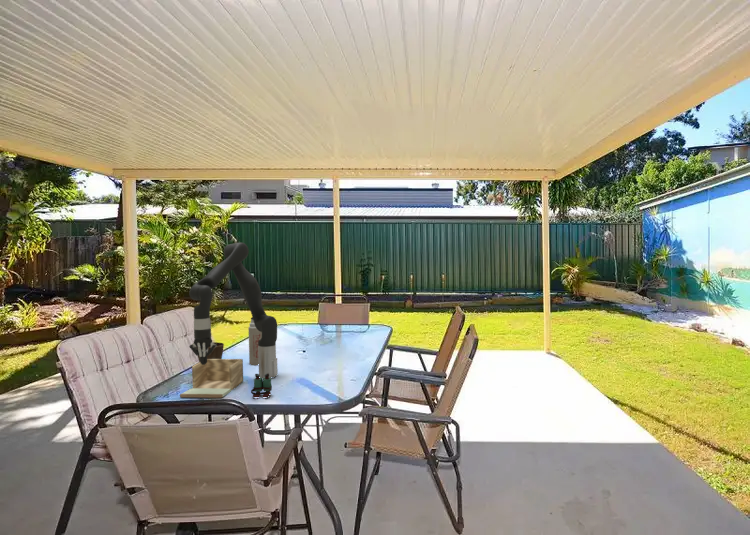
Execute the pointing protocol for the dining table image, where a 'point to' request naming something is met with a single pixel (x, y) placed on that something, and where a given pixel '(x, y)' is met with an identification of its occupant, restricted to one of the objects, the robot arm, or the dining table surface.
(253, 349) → the thermos bottle
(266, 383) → the binoculars
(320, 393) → the dining table surface
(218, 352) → the plant pot
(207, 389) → the panel
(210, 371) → the crate
